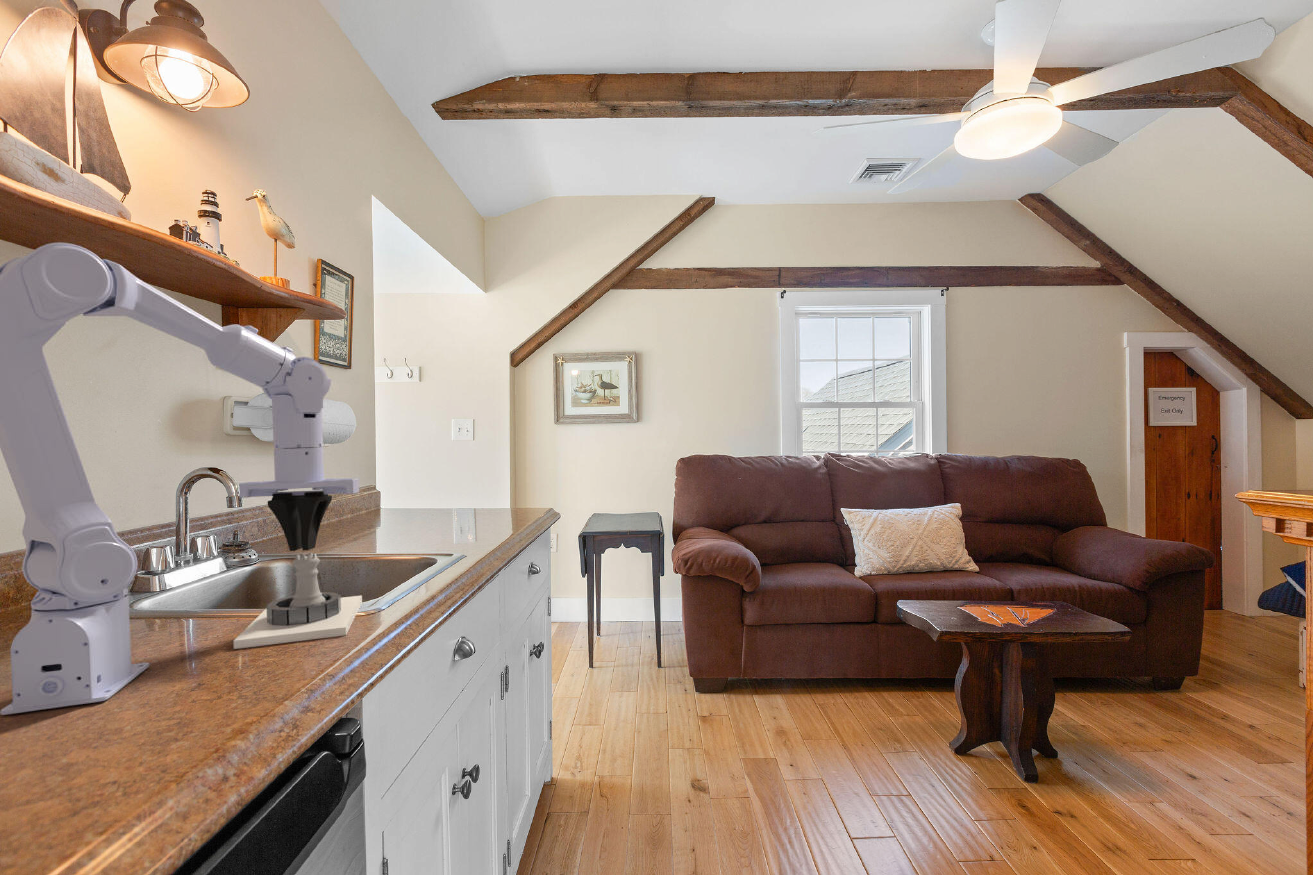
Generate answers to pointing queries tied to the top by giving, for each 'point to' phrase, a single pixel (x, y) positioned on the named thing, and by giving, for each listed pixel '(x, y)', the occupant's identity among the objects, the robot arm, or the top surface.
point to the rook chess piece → (306, 581)
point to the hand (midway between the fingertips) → (302, 549)
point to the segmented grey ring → (302, 610)
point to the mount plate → (299, 627)
